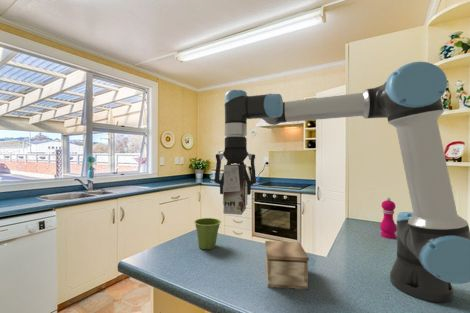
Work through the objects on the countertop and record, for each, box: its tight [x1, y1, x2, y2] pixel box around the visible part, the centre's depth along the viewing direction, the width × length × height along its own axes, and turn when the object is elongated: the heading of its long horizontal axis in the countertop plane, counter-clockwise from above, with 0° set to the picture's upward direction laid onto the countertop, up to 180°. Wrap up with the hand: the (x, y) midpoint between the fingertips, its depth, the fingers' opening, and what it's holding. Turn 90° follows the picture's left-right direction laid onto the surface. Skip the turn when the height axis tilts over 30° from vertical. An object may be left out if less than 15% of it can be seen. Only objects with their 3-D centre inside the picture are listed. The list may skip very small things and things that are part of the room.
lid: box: [264, 240, 310, 262], centre depth 77 cm, size 12×14×1 cm
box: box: [265, 252, 309, 290], centre depth 77 cm, size 12×14×8 cm
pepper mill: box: [379, 197, 397, 239], centre depth 117 cm, size 7×7×20 cm
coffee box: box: [223, 163, 247, 216], centre depth 78 cm, size 9×6×16 cm
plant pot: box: [193, 217, 222, 250], centre depth 101 cm, size 12×12×11 cm
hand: (235, 203), depth 78 cm, fingers closed on coffee box, 7 cm apart
